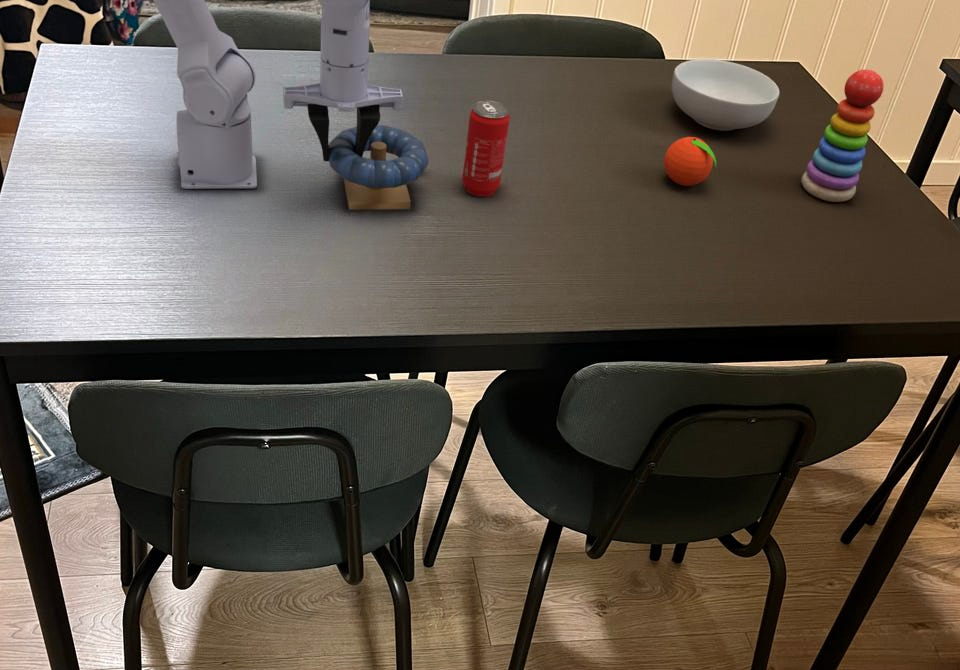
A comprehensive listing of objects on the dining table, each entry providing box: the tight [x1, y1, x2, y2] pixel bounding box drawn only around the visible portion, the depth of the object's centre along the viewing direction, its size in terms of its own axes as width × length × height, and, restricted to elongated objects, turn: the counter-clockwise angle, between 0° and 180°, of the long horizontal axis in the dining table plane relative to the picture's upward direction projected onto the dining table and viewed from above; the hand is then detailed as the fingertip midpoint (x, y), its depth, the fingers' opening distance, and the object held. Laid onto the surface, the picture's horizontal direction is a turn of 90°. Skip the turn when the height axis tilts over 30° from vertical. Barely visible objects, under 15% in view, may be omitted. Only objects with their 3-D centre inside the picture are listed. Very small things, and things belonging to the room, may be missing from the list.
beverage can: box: [461, 100, 511, 198], centre depth 128 cm, size 5×5×12 cm
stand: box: [343, 142, 411, 211], centre depth 126 cm, size 8×8×7 cm
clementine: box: [663, 136, 717, 187], centre depth 138 cm, size 8×7×7 cm
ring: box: [328, 124, 429, 188], centre depth 124 cm, size 13×13×3 cm
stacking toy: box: [801, 69, 884, 203], centre depth 137 cm, size 8×8×19 cm
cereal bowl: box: [671, 58, 780, 132], centre depth 155 cm, size 17×17×7 cm
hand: (341, 157), depth 124 cm, fingers closed on ring, 3 cm apart
